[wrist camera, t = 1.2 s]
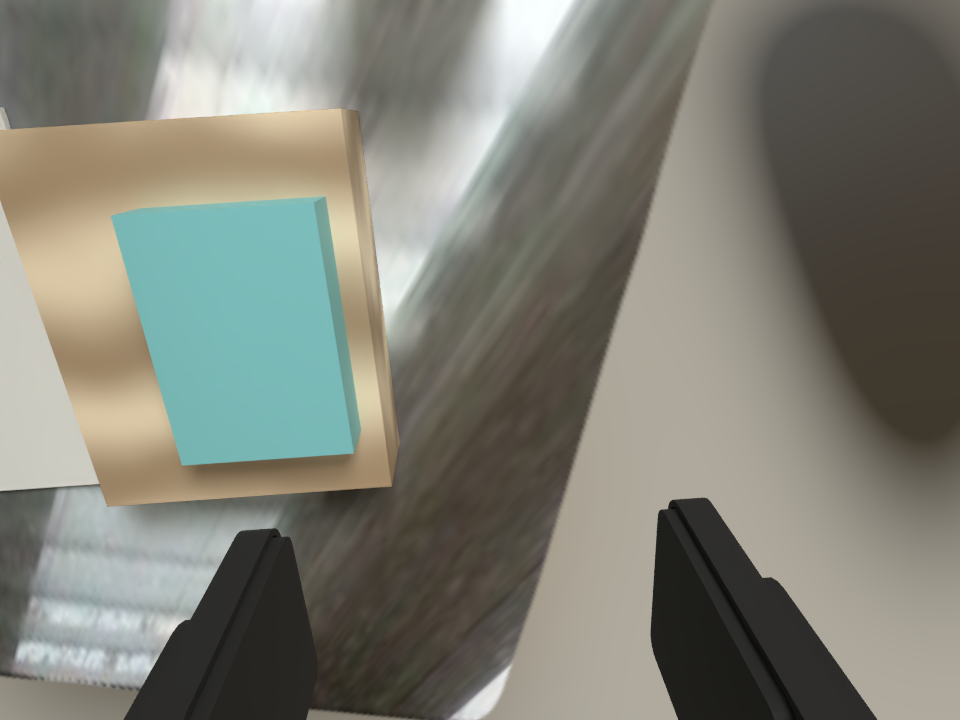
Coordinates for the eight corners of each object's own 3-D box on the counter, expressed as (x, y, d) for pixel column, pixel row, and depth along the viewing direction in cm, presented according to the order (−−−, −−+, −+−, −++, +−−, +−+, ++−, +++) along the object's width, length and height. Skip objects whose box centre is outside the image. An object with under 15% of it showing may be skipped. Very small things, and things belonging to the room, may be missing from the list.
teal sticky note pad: (139, 208, 22) (110, 215, 20) (325, 196, 22) (313, 202, 20) (201, 441, 26) (181, 465, 24) (361, 430, 26) (353, 453, 24)
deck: (48, 131, 25) (-25, 131, 21) (357, 111, 25) (340, 108, 21) (149, 460, 31) (107, 506, 27) (399, 443, 31) (391, 486, 27)
